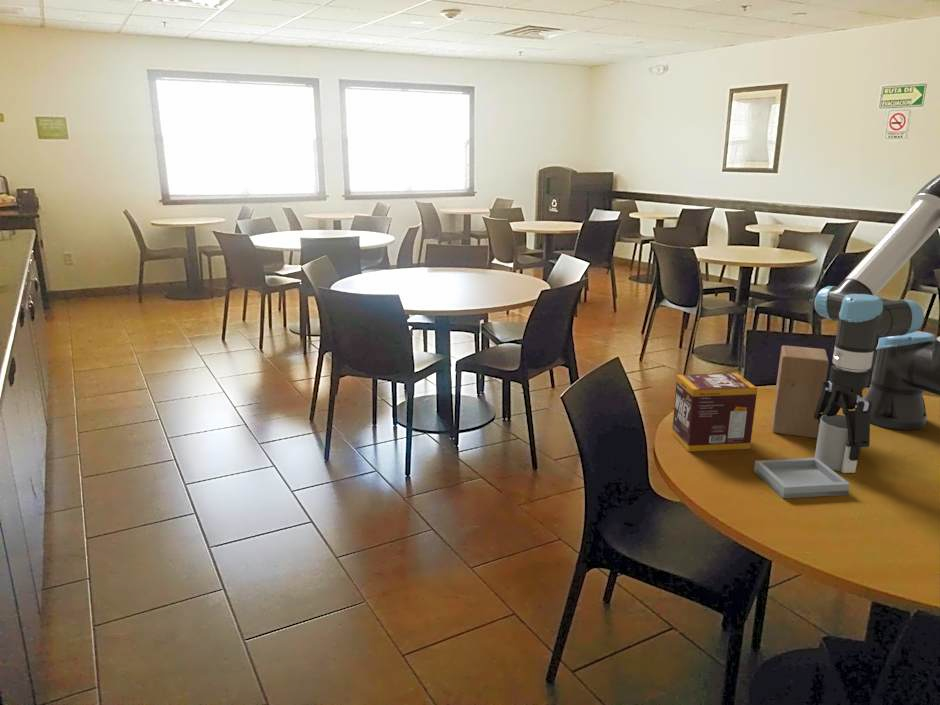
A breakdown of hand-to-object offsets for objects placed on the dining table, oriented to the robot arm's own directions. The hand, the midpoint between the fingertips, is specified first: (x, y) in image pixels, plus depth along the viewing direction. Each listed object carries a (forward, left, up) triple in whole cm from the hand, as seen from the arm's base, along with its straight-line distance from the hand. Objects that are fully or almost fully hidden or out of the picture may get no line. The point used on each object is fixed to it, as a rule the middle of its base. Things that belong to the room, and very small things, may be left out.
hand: (834, 461), depth 154 cm
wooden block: (-1, -19, 0) cm, 19 cm away
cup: (0, 0, 0) cm, 0 cm away
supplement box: (+23, -14, 0) cm, 27 cm away
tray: (+13, +8, 0) cm, 15 cm away
